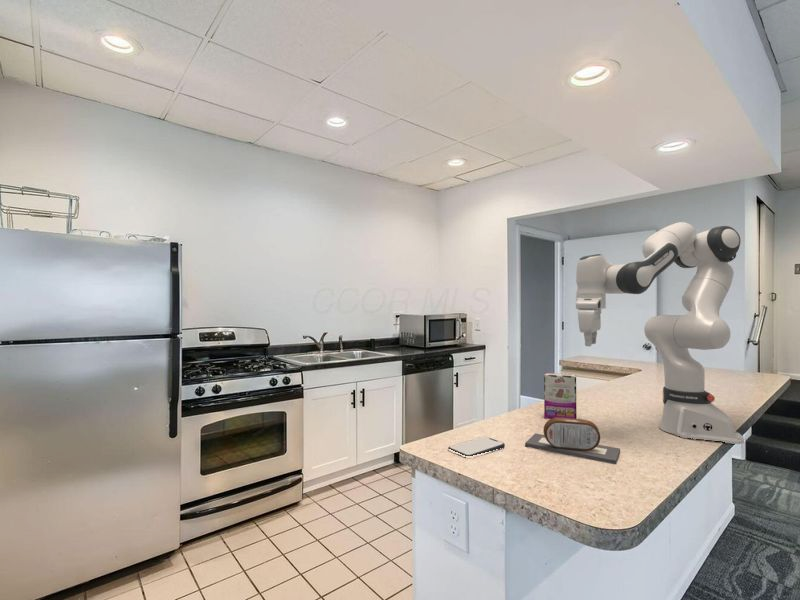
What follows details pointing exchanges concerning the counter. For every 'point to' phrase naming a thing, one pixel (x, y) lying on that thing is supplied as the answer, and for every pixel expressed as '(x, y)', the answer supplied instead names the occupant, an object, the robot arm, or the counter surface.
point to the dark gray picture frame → (597, 453)
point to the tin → (572, 433)
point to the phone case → (477, 446)
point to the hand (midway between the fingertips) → (590, 345)
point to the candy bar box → (559, 396)
